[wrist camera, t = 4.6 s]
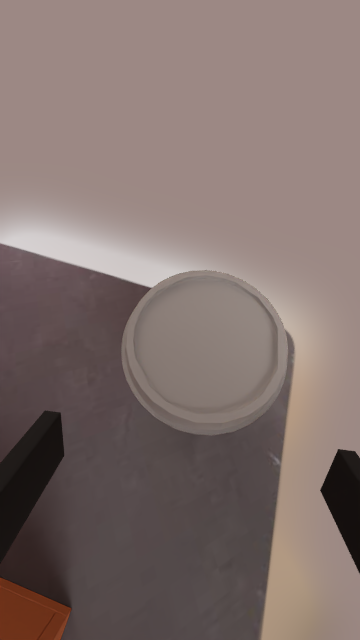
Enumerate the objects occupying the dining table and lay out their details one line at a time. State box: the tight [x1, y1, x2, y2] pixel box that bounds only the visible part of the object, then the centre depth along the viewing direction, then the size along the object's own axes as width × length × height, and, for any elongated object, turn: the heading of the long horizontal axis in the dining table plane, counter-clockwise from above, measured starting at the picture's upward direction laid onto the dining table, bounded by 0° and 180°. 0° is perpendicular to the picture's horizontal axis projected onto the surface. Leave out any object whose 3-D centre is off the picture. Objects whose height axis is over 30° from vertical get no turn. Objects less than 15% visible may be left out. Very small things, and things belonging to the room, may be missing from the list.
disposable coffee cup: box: [121, 270, 288, 435], centre depth 18 cm, size 10×10×12 cm
